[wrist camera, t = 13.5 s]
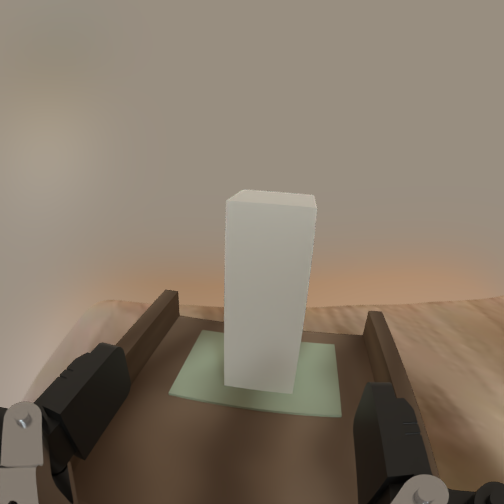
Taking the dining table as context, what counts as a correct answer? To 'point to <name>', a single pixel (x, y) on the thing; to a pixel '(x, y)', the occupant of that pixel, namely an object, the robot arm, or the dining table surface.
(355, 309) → the dining table surface
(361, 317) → the dining table surface
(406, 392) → the channel
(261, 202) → the block
